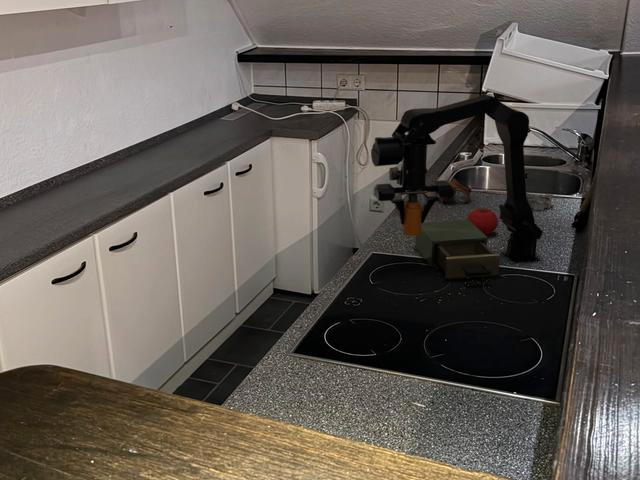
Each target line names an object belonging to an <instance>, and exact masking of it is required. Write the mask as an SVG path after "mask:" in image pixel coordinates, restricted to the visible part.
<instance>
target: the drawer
mask: <svg viewBox="0 0 640 480" xmlns="http://www.w3.org/2000/svg"><path fill="white" fill-rule="evenodd" d="M435 261H436V262H437V263H438V265H439V266H438V267H440V268H441V269H442V271H443V272H444V278H445V279H446V280H447V279H460V278H461V279H462V278H474V277H487V276H499V273H500V263H501V262H500V261H501V254H500V253H499V252H498V253H495V252H494V251H493V250H492V249H491V248H489V247H488V245H487V246H486V245H485V244H484V243H483V242H482V241H468V242H453V243H439V244H435Z"/></svg>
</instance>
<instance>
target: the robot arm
mask: <svg viewBox="0 0 640 480" xmlns="http://www.w3.org/2000/svg"><path fill="white" fill-rule="evenodd" d="M484 114H485V115H486V116H487V117H489V118H490V119H492V121H494V124H495V128H496V132H497V135H498V137H499V140H500V141H501V143H502V147H503V158H504V159H503V161H504V171H505V172H504V173H505V188H506V199H505V202H504V203H502V204H499V206H498V208H499V211H500V212H499V213H500V215H499V219H500V220H501V222H502V223H503V224H504V225H505V226H506V229H507V231H508V232H510V233H509V239H507V243H506V251H505V255H507V256H508V257H510V259H511V260H512V261H514V262H528V261H539V257H538V256H537V255H536V254H537V245H538V240H541V238H542V235H543V233H544V231H543V229H541V228H540V227H539V226H538V225H537V224H536V223H535V222H536V221H535V215H534V211H533V208H531V206H530V204H529V202H528V200H527V197H526V192H527V185H526V183H527V182H526V167H525V165H526V164H525V150H524V149H525V148H524V145H525V142H526V140H527V138H528V136H529V130H530V118H529V115H528V114H526V113H525V112H524V111H520V110H518V109H516V108H512V107H510V106H508V105H506V104H505V103H503V102H501V101H500V100H498V99H497V98H496V96H493V95H489V94H487V93H482V94H480V95H479V96H475V97H472V98H467V99H465V100H461V101H457V102H454V103H450V104H446V105H442V106H439V107H435V108H434V107H433V108H432V107H431V108H430V107H427V108H426V107H422V108H411V109H408V110H406V111H404V113H403V115H402V116H401V119H400V122H399V124H398V125H397V127H395V129H394V131H393V132H392V134H391V136H388V137H387V136H386V137H382V136H381V137H380V136H378V137H374V142H373V144H372V147H371V150H370V156H371V158H370V159H371V162H372V164H373V166H374V167H384V166H385V167H386V166H395V167H389V171H388V173H389V174H388V175H389V181H396V185H399V186H397V187H396V186H395V187H394V186H393V185H392V184H391V183H377V184H375V185H374V187H373V196H374V197H375V198H376V200H377V201H379V202H391V204H394V206H395V208H396V211H397V215H398V218H399V221H400V225H402V226H403V225H404V205H405V200H404V199H403V196H405V195H407V196H408V195H409V194H417V195H421V206H422V220H421V223H424V222H425V220H426V218H427V216H428V214H429V213H430V210H431V209H432V208H433V206H434V205H435V203H436V202H440V201H439V195H440V196H441V197H452V196H453V186H452V185H450V184H449V183H448V182H449V181H447V180H432V181H431V183H430V185H427V184H426V183H427V182H426V180H427V179H426V178H427V173H428V168H427V158H428V146H429V145H436V143H437V141H436V140H434V139H433V138H432V136H431V135H430V134H433V133H435V132H437V130H439V129H441V127H443V126H445V125H450V124H453V123H456V122H459V121H460V122H461V121H464V120H467V119H471V118H474V117H477V116H481V115H484ZM400 163H402V164H401V167H400V169H399V167H398V166H396V165H400Z"/></svg>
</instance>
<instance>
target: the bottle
mask: <svg viewBox="0 0 640 480" xmlns="http://www.w3.org/2000/svg"><path fill="white" fill-rule="evenodd" d="M407 196H408V197H407V198H408V199H407V200H406V201H405V204H404V225H402V234H403V235H404V236H408V237H416V236H417V235H420V234H421V220H422V204H421V202H420V200H418V194H408V195H407Z"/></svg>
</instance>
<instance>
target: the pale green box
mask: <svg viewBox="0 0 640 480" xmlns="http://www.w3.org/2000/svg"><path fill="white" fill-rule="evenodd" d="M468 241H482V242H483V243H484V244H485V245H486V246H487V247H488V236H487V235H484V234H483V233H482V232H481V231H480V230H479V229H478V228H477V227H476V226H474V225H473V224H472V223H471V222H470V221H469V220H467V219H457V220H443V221H442V220H441V221H440V220H439V221H426V222H425V221H424V222H423V223H421V234H420V235H417V236H415V248H416V250H417V251H418V252H419V253H420V255H421V256H422V257H423V258H424V259H425V261H426V262H427V263H428V265H429V266H430V267H431V268H435V267H440V266H439V265H438V263H437V262H436V261H435V244H439V243H453V242H468Z"/></svg>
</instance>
